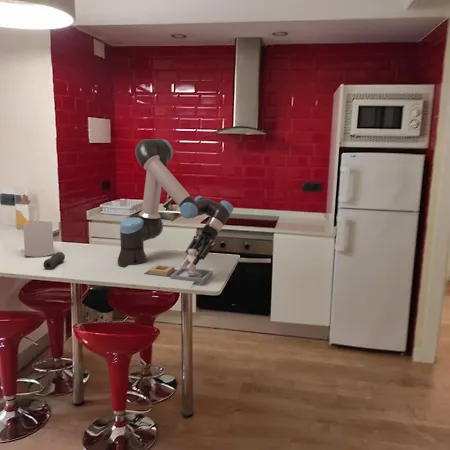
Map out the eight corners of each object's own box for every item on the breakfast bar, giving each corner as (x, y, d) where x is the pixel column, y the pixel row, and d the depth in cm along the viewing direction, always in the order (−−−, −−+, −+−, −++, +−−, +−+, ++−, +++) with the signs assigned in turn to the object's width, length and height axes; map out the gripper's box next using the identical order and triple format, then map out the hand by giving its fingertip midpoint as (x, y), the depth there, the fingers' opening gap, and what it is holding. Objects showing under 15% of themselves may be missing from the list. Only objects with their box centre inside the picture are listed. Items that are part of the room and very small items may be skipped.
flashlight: (53, 270, 231) (52, 260, 230) (42, 270, 232) (41, 259, 230) (65, 261, 246) (64, 251, 245) (55, 261, 247) (54, 251, 245)
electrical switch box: (53, 253, 270) (51, 218, 268) (54, 256, 256) (51, 219, 254) (26, 255, 264) (24, 220, 263) (25, 258, 251) (22, 221, 249)
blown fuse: (186, 275, 221) (186, 250, 218) (189, 272, 224) (189, 248, 222) (194, 275, 219) (194, 251, 217) (197, 273, 223) (197, 249, 221)
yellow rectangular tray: (143, 276, 224) (143, 269, 223) (153, 269, 235) (153, 263, 235) (170, 280, 220) (170, 273, 219) (179, 272, 231) (179, 266, 231)
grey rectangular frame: (170, 281, 218) (170, 275, 217) (181, 273, 231) (181, 267, 231) (203, 285, 214) (203, 279, 213) (212, 276, 227) (212, 270, 226)
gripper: (228, 236, 223) (202, 277, 215) (204, 230, 235) (178, 268, 227) (220, 227, 218) (193, 268, 210) (196, 221, 230) (169, 260, 222)
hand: (185, 268), depth 218 cm, fingers open, 4 cm apart
